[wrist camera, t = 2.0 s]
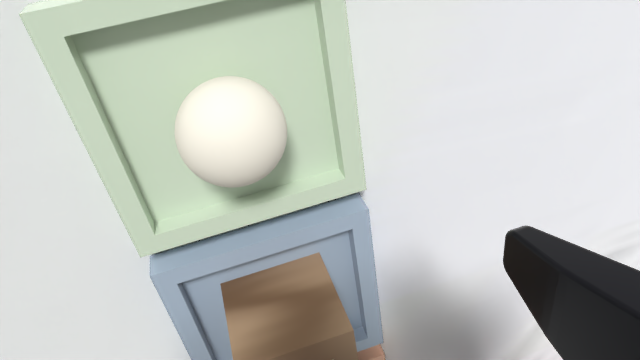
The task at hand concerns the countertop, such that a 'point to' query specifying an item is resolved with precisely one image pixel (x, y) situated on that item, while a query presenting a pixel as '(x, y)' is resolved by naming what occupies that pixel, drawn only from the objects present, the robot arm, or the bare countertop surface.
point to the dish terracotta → (372, 353)
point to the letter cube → (288, 314)
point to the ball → (230, 131)
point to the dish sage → (179, 80)
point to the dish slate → (265, 252)
